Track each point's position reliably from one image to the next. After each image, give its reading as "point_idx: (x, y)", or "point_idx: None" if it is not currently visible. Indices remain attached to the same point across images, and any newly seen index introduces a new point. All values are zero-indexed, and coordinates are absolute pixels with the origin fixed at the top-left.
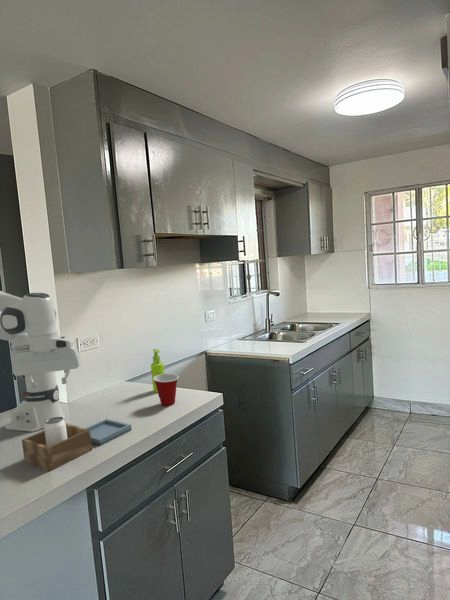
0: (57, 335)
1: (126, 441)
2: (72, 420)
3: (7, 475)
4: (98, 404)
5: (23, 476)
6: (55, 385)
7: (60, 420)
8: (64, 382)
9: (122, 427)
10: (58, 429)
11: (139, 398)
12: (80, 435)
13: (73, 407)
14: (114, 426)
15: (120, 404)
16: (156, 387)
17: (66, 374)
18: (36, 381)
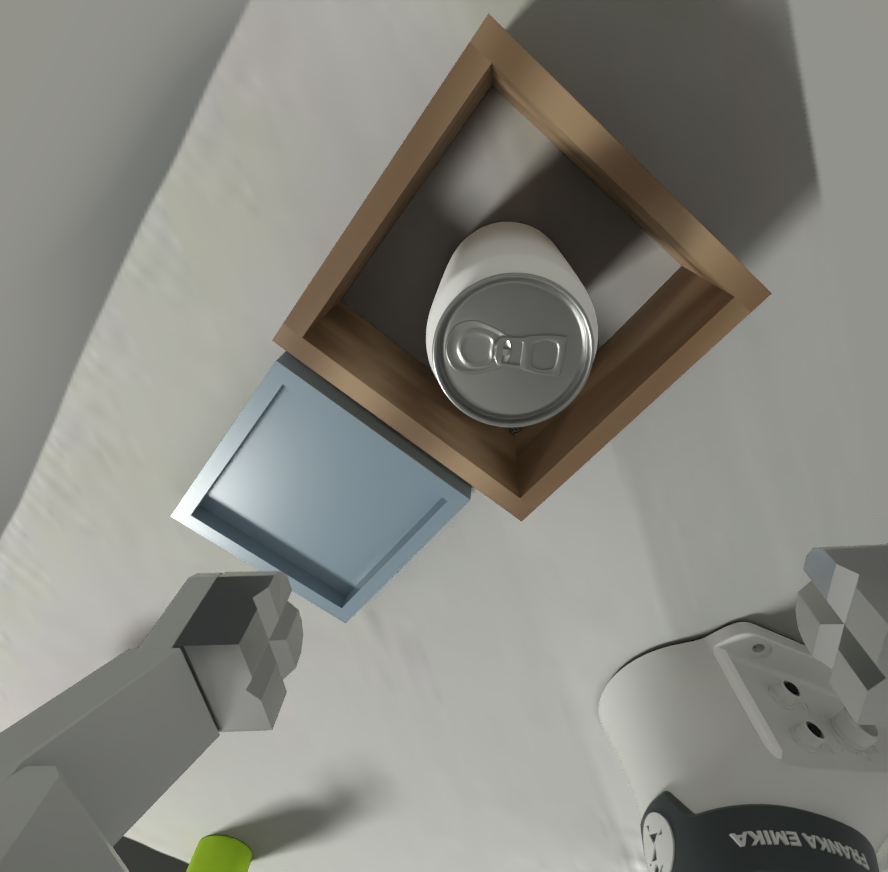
0: None
1: (153, 366)
2: (554, 687)
3: (783, 52)
4: (472, 806)
5: (662, 5)
6: None
7: (456, 350)
8: (224, 582)
9: (233, 523)
10: (460, 267)
11: (290, 807)
12: (317, 274)
13: (590, 812)
14: (284, 546)
15: (361, 778)
16: (219, 863)
17: (50, 728)
18: (858, 702)
